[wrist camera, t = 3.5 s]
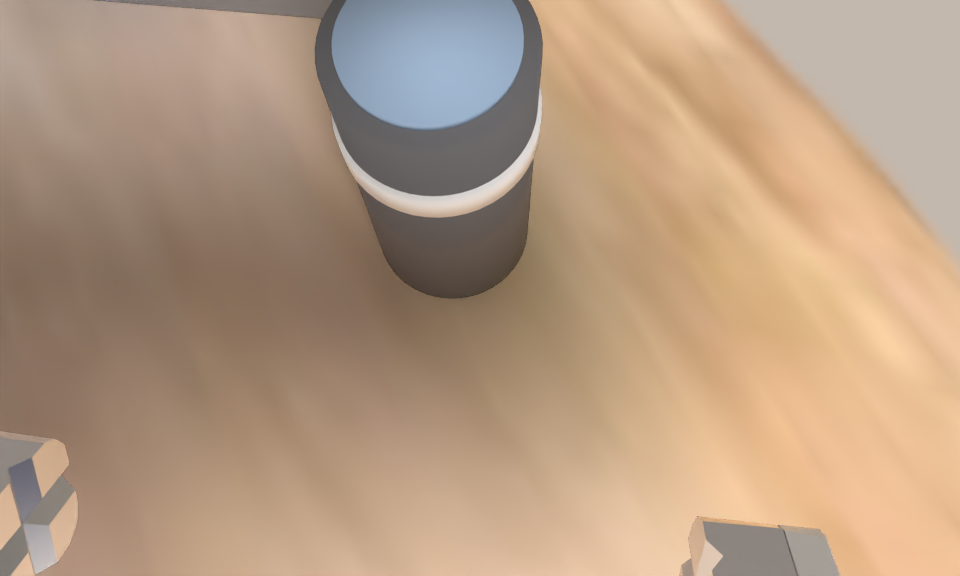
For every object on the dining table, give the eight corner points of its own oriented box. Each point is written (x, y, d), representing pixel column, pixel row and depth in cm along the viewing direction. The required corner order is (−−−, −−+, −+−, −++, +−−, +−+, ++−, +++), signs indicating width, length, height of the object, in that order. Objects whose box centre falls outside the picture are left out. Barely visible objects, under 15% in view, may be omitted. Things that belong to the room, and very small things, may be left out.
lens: (365, 293, 26) (288, 135, 17) (388, 152, 28) (329, -68, 18) (523, 308, 26) (537, 157, 16) (536, 165, 28) (557, -51, 18)
